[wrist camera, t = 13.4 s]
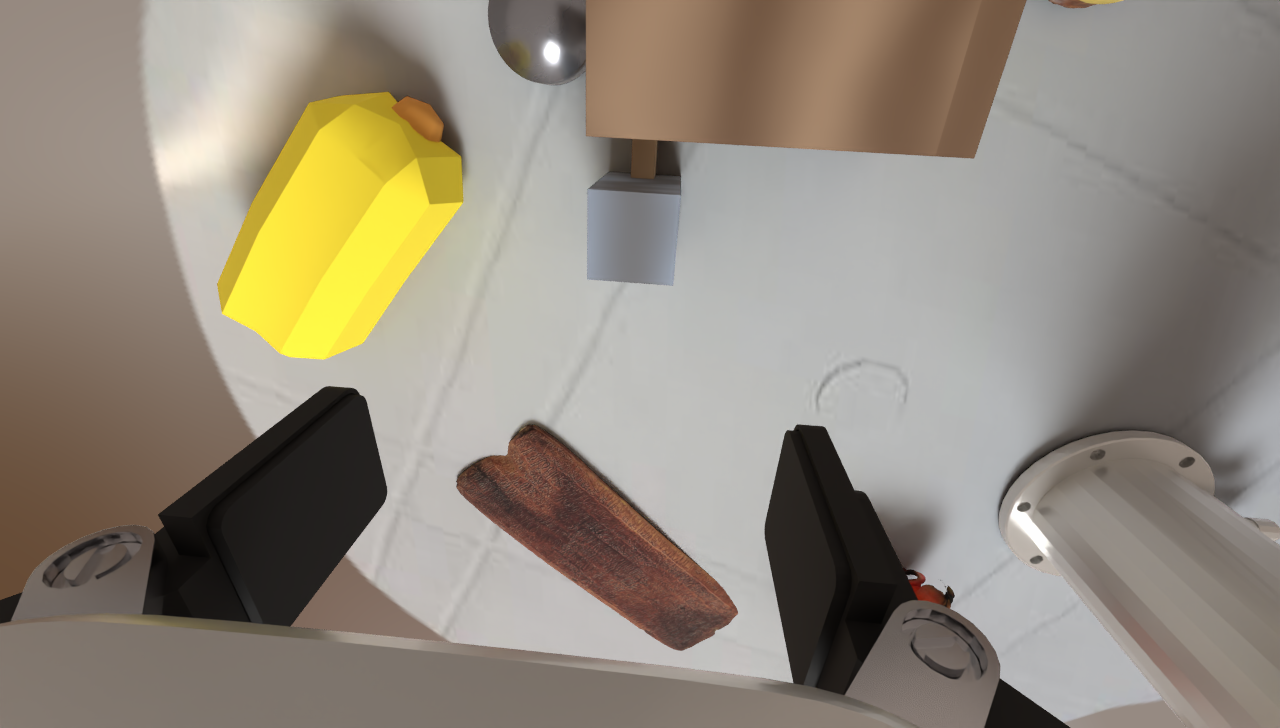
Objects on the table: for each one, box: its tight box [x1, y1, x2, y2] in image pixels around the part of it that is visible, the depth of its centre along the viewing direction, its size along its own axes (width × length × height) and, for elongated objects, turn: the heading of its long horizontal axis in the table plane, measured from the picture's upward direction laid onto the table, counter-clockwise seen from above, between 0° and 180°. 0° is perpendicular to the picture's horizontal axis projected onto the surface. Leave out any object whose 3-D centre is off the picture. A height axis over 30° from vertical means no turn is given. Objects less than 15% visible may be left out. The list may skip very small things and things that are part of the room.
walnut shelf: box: [586, 0, 1026, 158], centre depth 21 cm, size 16×9×7 cm, turn 87°
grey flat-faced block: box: [587, 139, 681, 286], centre depth 23 cm, size 4×13×7 cm, turn 177°
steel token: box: [488, 0, 586, 85], centre depth 24 cm, size 5×5×2 cm
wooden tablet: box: [456, 425, 738, 651], centre depth 41 cm, size 26×2×10 cm
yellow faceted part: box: [217, 92, 463, 359], centre depth 27 cm, size 18×7×8 cm
